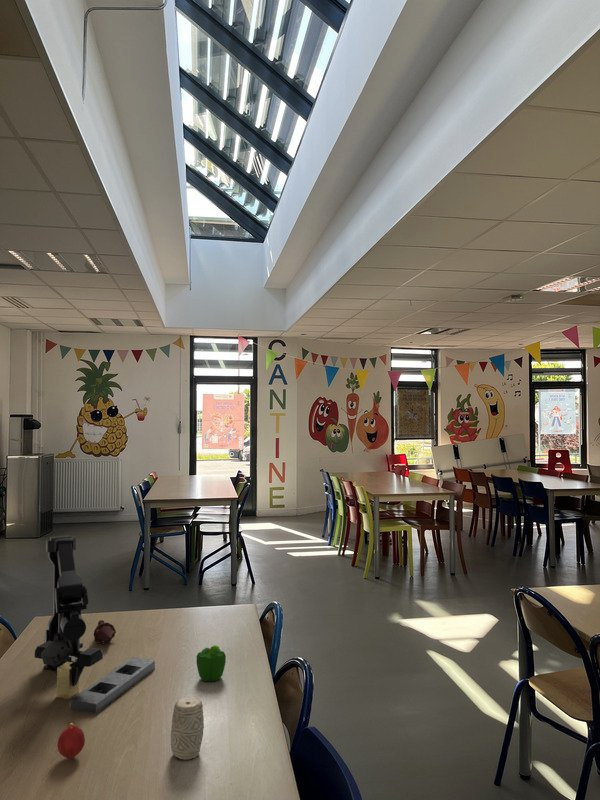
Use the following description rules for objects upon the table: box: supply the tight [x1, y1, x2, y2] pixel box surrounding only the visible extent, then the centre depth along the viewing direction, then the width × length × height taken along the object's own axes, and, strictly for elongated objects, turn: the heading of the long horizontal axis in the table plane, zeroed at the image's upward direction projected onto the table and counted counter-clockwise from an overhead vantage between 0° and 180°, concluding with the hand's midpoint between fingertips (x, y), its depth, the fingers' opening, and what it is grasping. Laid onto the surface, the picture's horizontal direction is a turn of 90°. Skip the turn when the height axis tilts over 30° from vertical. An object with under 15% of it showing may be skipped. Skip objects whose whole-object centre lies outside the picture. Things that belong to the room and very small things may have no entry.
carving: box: [170, 696, 205, 761], centre depth 131 cm, size 6×8×12 cm
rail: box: [70, 656, 156, 715], centre depth 163 cm, size 8×28×2 cm, turn 162°
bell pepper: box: [196, 645, 227, 682], centre depth 169 cm, size 8×8×10 cm
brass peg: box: [56, 662, 80, 700], centre depth 158 cm, size 4×4×8 cm
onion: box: [56, 722, 86, 760], centre depth 129 cm, size 6×6×8 cm
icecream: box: [93, 619, 117, 645], centre depth 195 cm, size 7×7×15 cm
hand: (67, 684), depth 158 cm, fingers closed on brass peg, 4 cm apart
